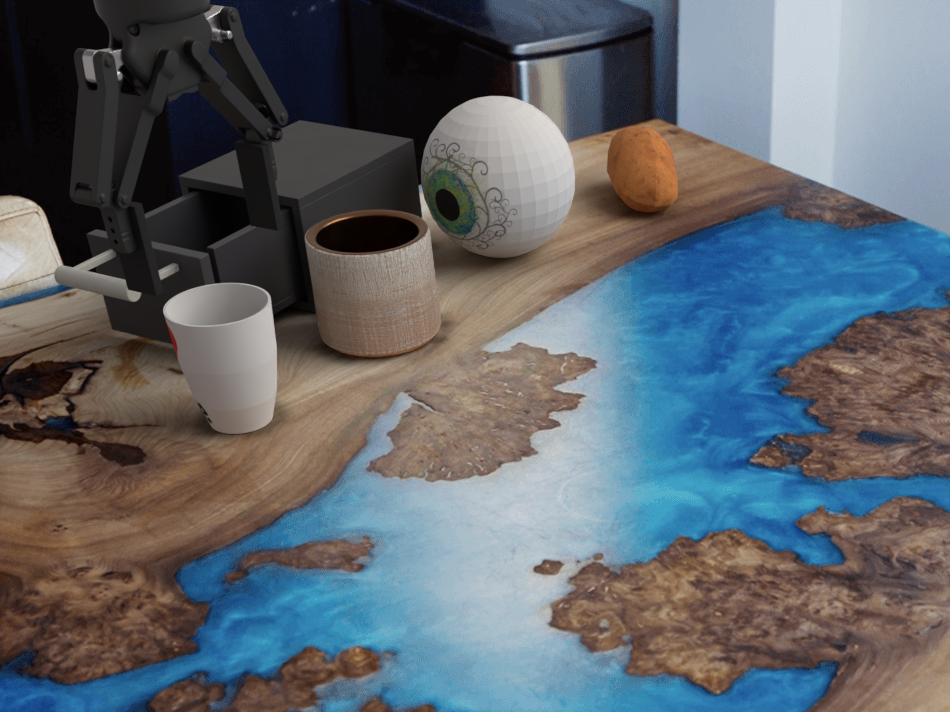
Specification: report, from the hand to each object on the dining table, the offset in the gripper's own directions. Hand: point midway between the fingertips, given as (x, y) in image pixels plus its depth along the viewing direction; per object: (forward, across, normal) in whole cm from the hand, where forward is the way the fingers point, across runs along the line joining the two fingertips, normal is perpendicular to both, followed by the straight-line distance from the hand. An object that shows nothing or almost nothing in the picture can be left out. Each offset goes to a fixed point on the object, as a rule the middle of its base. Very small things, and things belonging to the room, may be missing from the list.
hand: (209, 258), depth 107 cm
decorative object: (+14, -39, +1) cm, 41 cm away
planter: (+14, -18, +1) cm, 23 cm away
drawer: (+13, -12, -14) cm, 22 cm away
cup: (+14, 0, 0) cm, 14 cm away
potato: (+14, -58, +7) cm, 60 cm away
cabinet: (+14, -28, -14) cm, 34 cm away
